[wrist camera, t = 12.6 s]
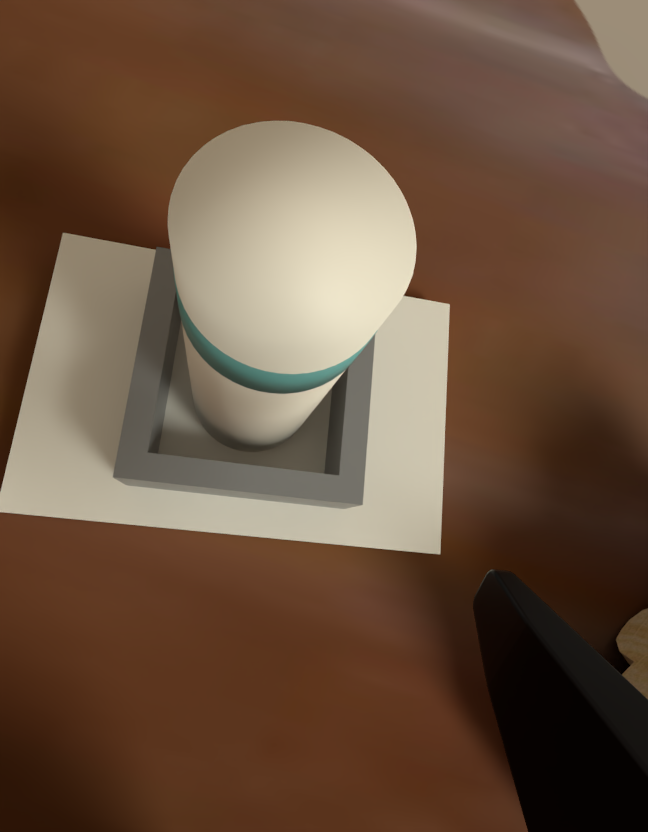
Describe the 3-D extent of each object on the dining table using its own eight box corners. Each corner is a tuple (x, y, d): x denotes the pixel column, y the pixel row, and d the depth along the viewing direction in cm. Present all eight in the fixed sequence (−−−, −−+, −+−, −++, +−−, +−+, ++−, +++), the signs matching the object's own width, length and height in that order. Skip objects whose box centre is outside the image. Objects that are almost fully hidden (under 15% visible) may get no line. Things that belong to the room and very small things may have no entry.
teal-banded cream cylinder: (223, 472, 22) (237, 390, 9) (172, 367, 22) (122, 158, 10) (328, 422, 23) (459, 293, 11) (278, 324, 24) (348, 95, 11)
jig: (429, 553, 24) (472, 556, 20) (7, 512, 21) (-42, 507, 17) (439, 314, 27) (478, 275, 23) (70, 247, 24) (41, 188, 20)
